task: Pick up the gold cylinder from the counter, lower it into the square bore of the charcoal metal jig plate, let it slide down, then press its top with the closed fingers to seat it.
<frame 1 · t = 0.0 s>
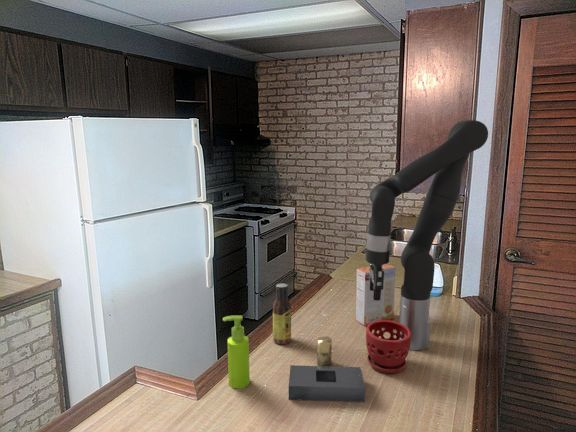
hand: (374, 295, 136), 17 cm above the countertop, tool pointing down, fingers open, 8 cm apart
sauce bottle: (282, 341, 141), on the countertop
soap dispenser: (237, 383, 118), on the countertop
jig: (325, 389, 114), on the countertop
gold cylinder: (324, 363, 127), on the countertop
cracker box: (374, 320, 157), on the countertop
plant pot: (386, 366, 126), on the countertop
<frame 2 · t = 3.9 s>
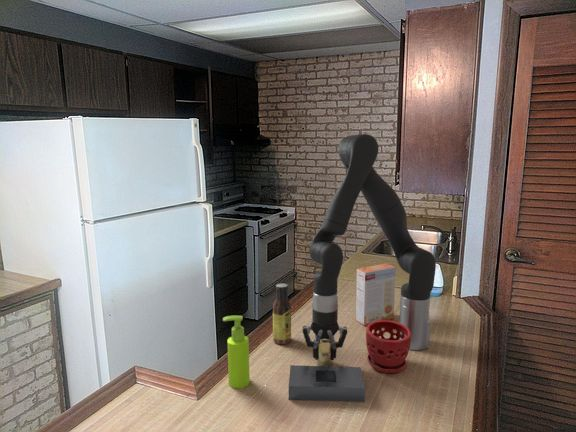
hand: (324, 358, 127), 2 cm above the countertop, tool pointing down, fingers closed on gold cylinder, 4 cm apart
gold cylinder: (324, 363, 127), on the countertop, touching gripper
everything else where it was.
when the fingers open (5 cm above the countertop, at t = 9.8 s): gold cylinder drops 3 cm, resting in jig.
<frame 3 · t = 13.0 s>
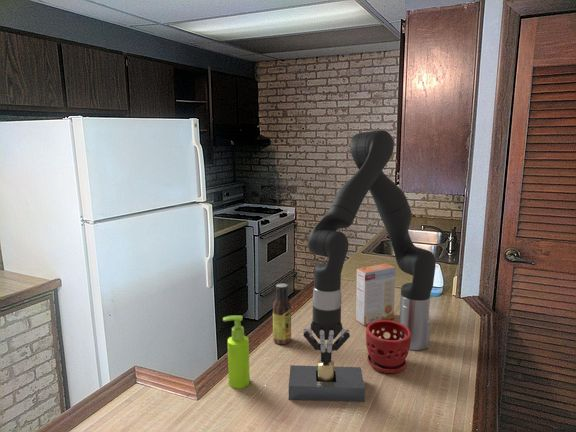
hand: (325, 363, 113), 8 cm above the countertop, tool pointing down, fingers closed
gold cylinder: (325, 389, 114), resting in jig, touching gripper
everything else where it was.
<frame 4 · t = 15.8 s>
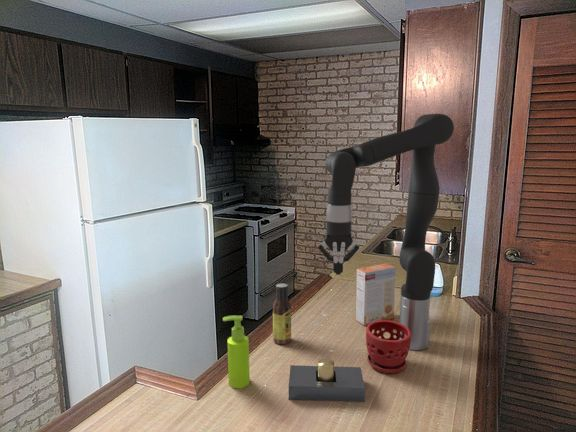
hand: (337, 273, 127), 27 cm above the countertop, tool pointing down, fingers closed
gold cylinder: (325, 389, 114), resting in jig
everything else where it was.
at the end: gold cylinder 0.0 cm from the jig (horizontally); gold cylinder resting in jig; gold cylinder tilted 0° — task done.
